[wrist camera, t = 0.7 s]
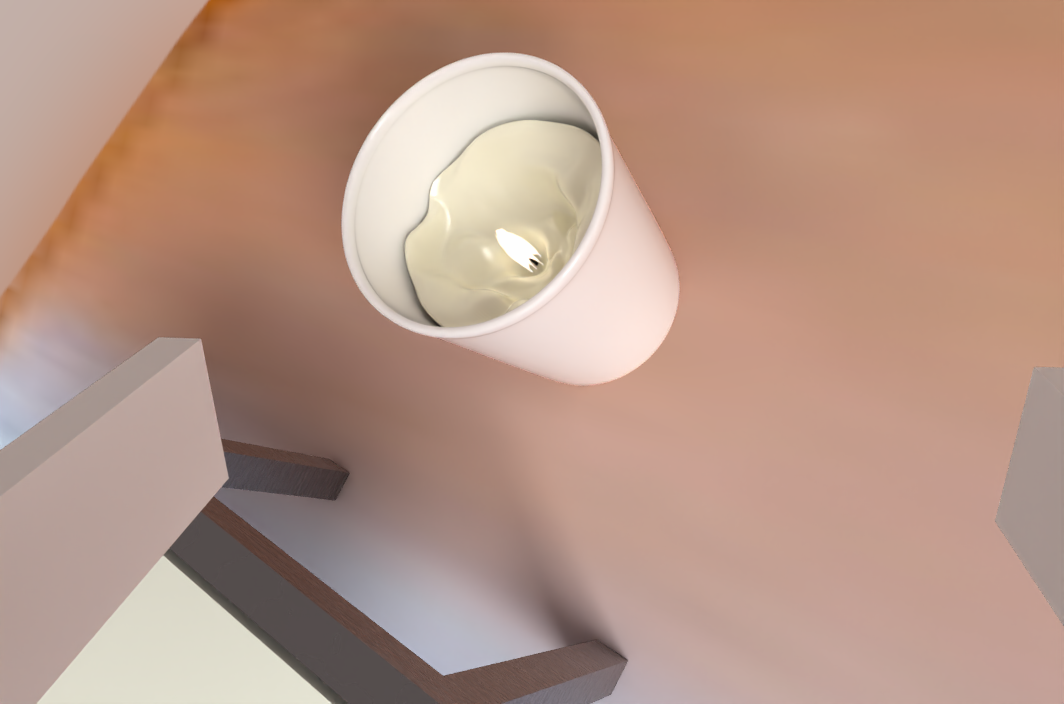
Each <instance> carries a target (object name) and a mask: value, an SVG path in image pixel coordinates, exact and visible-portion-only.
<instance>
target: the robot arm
mask: <svg viewBox="0 0 1064 704" xmlns="http://www.w3.org/2000/svg"><path fill="white" fill-rule="evenodd" d="M228 479H229V477H228V472H227V467H226V462H225V457H224V452H223V447H222V442H221V436H220V431H219V426H218V421H217V416H216V411H215V406H214V401H213V396H212V391H211V386H210V381H209V376H208V371H207V366H206V361H205V356H204V351H203V346H202V341H201V339H195V338H165V337H158V338H157V339H155V340H154V341H153V342H151V343H150V344H148V345H147V346H146V347H144V348H143V349H141V350H140V351H139V352H137V353H136V354H134V355H133V356H132V357H130V358H129V359H127V360H126V361H125V362H123V363H122V364H120V365H119V366H118V367H116V368H115V369H113V370H112V371H111V372H109V373H108V374H106V375H105V376H104V377H102V378H101V379H99V380H98V381H97V382H95V383H94V384H92V385H91V386H90V387H88V388H87V389H85V390H84V391H83V392H81V393H80V394H78V395H77V396H76V397H74V398H73V399H71V400H70V401H69V402H67V403H66V404H64V405H63V406H61V407H60V408H59V409H57V410H56V411H54V412H53V413H52V414H50V415H49V416H47V417H46V418H45V419H43V420H42V421H40V422H39V423H38V424H36V425H35V426H33V427H32V428H31V429H29V430H28V431H26V432H25V433H24V434H22V435H21V436H19V437H18V438H17V439H15V440H14V441H12V442H11V443H10V444H8V445H7V446H5V447H4V448H3V449H1V450H0V704H37V702H38V701H39V700H40V699H41V698H42V697H43V695H44V694H45V693H46V692H47V691H48V690H49V688H50V687H51V686H52V685H53V684H54V683H55V681H56V680H57V679H58V678H59V677H60V675H61V674H62V673H63V672H64V671H65V670H66V668H67V667H68V666H69V665H70V664H71V663H72V661H73V660H74V659H75V658H76V657H77V656H78V654H79V653H80V652H81V651H82V650H83V649H84V647H85V646H86V645H87V644H88V643H89V642H90V640H91V639H92V638H93V637H94V636H95V634H96V633H97V632H98V631H99V630H100V629H101V627H102V626H103V625H104V624H105V623H106V622H107V620H108V619H109V618H110V617H111V616H112V615H113V613H114V612H115V611H116V610H117V609H118V608H119V606H120V605H121V604H122V603H123V602H124V600H125V599H126V598H127V597H128V596H129V595H130V593H131V592H132V591H133V590H134V589H135V588H136V586H137V585H138V584H139V583H140V582H141V581H142V579H143V578H144V577H145V576H146V575H147V574H148V572H149V571H150V570H151V569H152V568H153V567H154V565H155V564H156V563H157V562H158V561H159V559H160V558H161V557H162V556H163V555H164V554H165V552H166V551H167V550H168V549H169V548H170V547H171V545H172V544H173V543H174V542H175V541H176V540H177V538H178V537H179V536H180V535H181V534H182V533H183V531H184V530H185V529H186V528H187V527H188V526H189V524H190V523H191V522H192V521H193V520H194V518H195V517H196V516H197V515H198V514H199V513H200V511H201V510H202V509H203V508H204V507H205V506H206V504H207V503H208V502H209V501H210V500H211V499H212V497H213V496H214V495H215V494H216V493H217V492H218V490H219V489H220V488H221V487H222V486H223V484H224V483H225V482H226V481H227V480H228ZM995 522H996V524H997V525H998V527H999V528H1000V530H1001V531H1002V533H1003V534H1004V536H1005V537H1006V539H1007V540H1008V542H1009V543H1010V545H1011V546H1012V548H1013V550H1014V551H1015V553H1016V554H1017V556H1018V557H1019V559H1020V560H1021V562H1022V563H1023V565H1024V566H1025V568H1026V569H1027V571H1028V572H1029V574H1030V576H1031V577H1032V579H1033V580H1034V582H1035V583H1036V585H1037V586H1038V588H1039V589H1040V591H1041V592H1042V594H1043V595H1044V597H1045V598H1046V600H1047V601H1048V603H1049V605H1050V606H1051V608H1052V609H1053V611H1054V612H1055V614H1056V615H1057V617H1058V618H1059V620H1060V621H1061V623H1062V624H1063V626H1064V368H1054V367H1034V369H1033V373H1032V377H1031V381H1030V385H1029V389H1028V393H1027V397H1026V400H1025V404H1024V408H1023V412H1022V416H1021V420H1020V424H1019V428H1018V432H1017V436H1016V440H1015V444H1014V448H1013V452H1012V456H1011V460H1010V464H1009V468H1008V472H1007V476H1006V480H1005V484H1004V487H1003V491H1002V495H1001V499H1000V503H999V507H998V511H997V515H996V519H995Z"/></svg>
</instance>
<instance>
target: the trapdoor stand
mask: <svg viewBox="0 0 1064 704" xmlns="http://www.w3.org/2000/svg"><path fill="white" fill-rule="evenodd" d="M221 442H222V447H223V452H224V457H225V462H226V467H227V472H228V477H229V479H228V480H227V481H226V482H225V483H224V484H223V486H222V487H226V488H235V489H243V490H252V491H260V492H269V493H277V494H286V495H294V496H303V497H311V498H320V499H328V500H336V498H337V496H338V494H339V492H340V490H341V488H342V486H343V484H344V482H345V480H346V479H347V477H348V475H349V472H347V471H346V470H344V469H343V468H341V467H340V466H338V465H337V464H335V463H334V462H332V461H331V460H329V459H326V458H321V457H315V456H310V455H305V454H300V453H294V452H289V451H284V450H278V449H273V448H268V447H262V446H257V445H252V444H246V443H241V442H236V441H230V440H225V439H221ZM170 549H171V550H172V551H173V552H174V553H175V554H177V555H178V556H179V557H180V558H181V559H182V560H184V561H185V562H186V563H187V564H188V565H189V566H191V567H192V568H193V569H194V570H195V571H196V572H197V573H199V574H200V575H201V576H202V577H203V578H204V579H206V580H207V581H208V582H209V583H210V584H211V585H212V586H214V587H215V588H216V589H217V590H218V591H219V592H221V593H222V594H223V595H224V596H225V597H226V598H228V599H229V600H230V601H231V602H232V603H233V604H234V605H236V606H237V607H238V608H239V609H240V610H241V611H243V612H244V613H245V614H246V615H247V616H248V617H249V618H251V619H252V620H253V621H254V622H255V623H256V624H258V625H259V626H260V627H261V628H262V629H263V630H264V631H266V632H267V633H268V634H269V635H270V636H271V637H273V638H274V639H275V640H276V641H277V642H278V643H280V644H281V645H282V646H283V647H284V648H285V649H286V650H288V651H289V652H290V653H291V654H292V655H293V656H295V657H296V658H297V659H298V660H299V661H300V662H301V663H303V664H304V665H305V666H306V667H307V668H308V669H310V670H311V671H312V672H313V673H314V674H315V675H316V676H318V677H319V678H320V679H321V680H322V681H323V682H325V683H326V684H327V685H328V686H329V687H330V688H332V689H333V690H334V691H335V692H336V693H337V694H338V695H340V696H341V697H342V698H343V699H344V700H345V701H347V702H348V703H349V704H590V703H593V702H595V701H597V700H600V699H602V698H604V697H606V696H609V695H611V693H612V691H613V689H614V687H615V685H616V683H617V681H618V679H619V677H620V675H621V673H622V671H623V670H624V668H625V666H626V664H627V662H628V660H626V659H625V658H623V657H622V656H620V655H619V654H617V653H616V652H614V651H613V650H611V649H610V648H608V647H607V646H605V645H604V644H602V643H601V642H599V641H598V640H593V641H589V642H585V643H580V644H576V645H572V646H568V647H563V648H559V649H555V650H551V651H546V652H542V653H538V654H534V655H530V656H525V657H521V658H517V659H513V660H508V661H504V662H500V663H496V664H491V665H487V666H483V667H479V668H475V669H470V670H466V671H462V672H458V673H453V674H449V675H445V676H443V675H441V674H440V673H439V672H437V671H436V670H435V669H434V668H432V667H431V666H430V665H428V664H427V663H426V662H425V661H423V660H422V659H421V658H419V657H418V656H417V655H416V654H414V653H413V652H412V651H411V650H409V649H408V648H407V647H405V646H404V645H403V644H402V643H400V642H399V641H398V640H396V639H395V638H394V637H393V636H391V635H390V634H389V633H388V632H386V631H385V630H384V629H382V628H381V627H380V626H379V625H377V624H376V623H375V622H373V621H372V620H371V619H370V618H368V617H367V616H366V615H364V614H363V613H362V612H361V611H359V610H358V609H357V608H356V607H354V606H353V605H352V604H350V603H349V602H348V601H347V600H345V599H344V598H343V597H341V596H340V595H339V594H338V593H336V592H335V591H334V590H332V589H331V588H330V587H329V586H327V585H326V584H325V583H324V582H322V581H321V580H320V579H318V578H317V577H316V576H315V575H313V574H312V573H311V572H309V571H308V570H307V569H306V568H304V567H303V566H302V565H300V564H299V563H298V562H297V561H295V560H294V559H293V558H292V557H290V556H289V555H288V554H286V553H285V552H284V551H283V550H281V549H280V548H279V547H277V546H276V545H275V544H274V543H272V542H271V541H270V540H268V539H267V538H266V537H265V536H263V535H262V534H261V533H260V532H258V531H257V530H256V529H254V528H253V527H252V526H251V525H249V524H248V523H247V522H245V521H244V520H243V519H242V518H240V517H239V516H238V515H236V514H235V513H234V512H233V511H231V510H230V509H229V508H228V507H226V506H225V505H224V504H222V503H221V502H220V501H219V500H217V499H216V498H215V497H212V499H211V500H210V501H209V502H208V503H207V504H206V506H205V507H204V508H203V509H202V510H201V511H200V513H199V514H198V515H197V516H196V517H195V518H194V520H193V521H192V522H191V523H190V524H189V526H188V527H187V528H186V529H185V530H184V531H183V533H182V534H181V535H180V536H179V537H178V538H177V540H176V541H175V542H174V543H173V544H172V545H171V547H170Z"/></svg>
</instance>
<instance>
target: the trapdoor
mask: <svg viewBox="0 0 1064 704" xmlns="http://www.w3.org/2000/svg"><path fill="white" fill-rule="evenodd" d="M37 704H349V703H348V702H347V701H345V700H344V699H343V698H342V697H341V696H340V695H338V694H337V693H336V692H335V691H334V690H333V689H332V688H330V687H329V686H328V685H327V684H326V683H325V682H323V681H322V680H321V679H320V678H319V677H318V676H316V675H315V674H314V673H313V672H312V671H311V670H310V669H308V668H307V667H306V666H305V665H304V664H303V663H301V662H300V661H299V660H298V659H297V658H296V657H295V656H293V655H292V654H291V653H290V652H289V651H288V650H286V649H285V648H284V647H283V646H282V645H281V644H280V643H278V642H277V641H276V640H275V639H274V638H273V637H271V636H270V635H269V634H268V633H267V632H266V631H264V630H263V629H262V628H261V627H260V626H259V625H258V624H256V623H255V622H254V621H253V620H252V619H251V618H249V617H248V616H247V615H246V614H245V613H244V612H243V611H241V610H240V609H239V608H238V607H237V606H236V605H234V604H233V603H232V602H231V601H230V600H229V599H228V598H226V597H225V596H224V595H223V594H222V593H221V592H219V591H218V590H217V589H216V588H215V587H214V586H212V585H211V584H210V583H209V582H208V581H207V580H206V579H204V578H203V577H202V576H201V575H200V574H199V573H197V572H196V571H195V570H194V569H193V568H192V567H191V566H189V565H188V564H187V563H186V562H185V561H184V560H182V559H181V558H180V557H179V556H178V555H177V554H175V553H174V552H173V551H172V550H171V549H170V548H169V549H168V550H167V551H166V552H165V554H164V555H163V556H162V557H161V558H160V559H159V561H158V562H157V563H156V564H155V565H154V567H153V568H152V569H151V570H150V571H149V572H148V574H147V575H146V576H145V577H144V578H143V579H142V581H141V582H140V583H139V584H138V585H137V586H136V588H135V589H134V590H133V591H132V592H131V593H130V595H129V596H128V597H127V598H126V599H125V600H124V602H123V603H122V604H121V605H120V606H119V608H118V609H117V610H116V611H115V612H114V613H113V615H112V616H111V617H110V618H109V619H108V620H107V622H106V623H105V624H104V625H103V626H102V627H101V629H100V630H99V631H98V632H97V633H96V634H95V636H94V637H93V638H92V639H91V640H90V642H89V643H88V644H87V645H86V646H85V647H84V649H83V650H82V651H81V652H80V653H79V654H78V656H77V657H76V658H75V659H74V660H73V661H72V663H71V664H70V665H69V666H68V667H67V668H66V670H65V671H64V672H63V673H62V674H61V675H60V677H59V678H58V679H57V680H56V681H55V683H54V684H53V685H52V686H51V687H50V688H49V690H48V691H47V692H46V693H45V694H44V695H43V697H42V698H41V699H40V700H39V701H38V702H37Z"/></svg>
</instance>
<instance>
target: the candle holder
mask: <svg viewBox="0 0 1064 704" xmlns="http://www.w3.org/2000/svg"><path fill="white" fill-rule="evenodd" d="M341 228H342V241H343V248H344V253H345V257H346V260H347V264H348V267H349V269H350V272H351V274H352V276H353V278H354V281H355V282H356V284H357V286H358V288H359V289H360V291H361V292H362V294H363V295H364V296H365V298H366V299H367V300H368V301H369V303H370V304H371V305H372V306H373V307H374V308H375V309H376V310H377V311H379V312H380V313H381V314H382V315H383V316H385V317H386V318H387V319H389V320H390V321H392V322H394V323H395V324H397V325H399V326H401V327H403V328H405V329H407V330H410V331H412V332H415V333H418V334H422V335H426V336H430V337H435V338H438V339H441V340H443V341H446V342H449V343H451V344H454V345H457V346H459V347H462V348H465V349H467V350H470V351H473V352H475V353H478V354H481V355H483V356H486V357H489V358H491V359H494V360H497V361H499V362H502V363H505V364H507V365H510V366H513V367H515V368H518V369H521V370H524V371H526V372H529V373H532V374H535V375H537V376H540V377H543V378H546V379H549V380H552V381H555V382H559V383H563V384H569V385H578V386H587V385H597V384H602V383H606V382H610V381H613V380H615V379H618V378H620V377H622V376H625V375H626V374H628V373H630V372H632V371H633V370H635V369H636V368H638V367H639V366H640V365H642V364H643V363H644V362H645V361H646V360H648V359H649V358H650V357H651V356H652V355H653V353H654V352H655V351H656V350H657V349H658V348H659V346H660V345H661V344H662V342H663V341H664V339H665V337H666V336H667V334H668V332H669V330H670V328H671V326H672V324H673V321H674V318H675V315H676V312H677V308H678V302H679V293H680V282H679V273H678V268H677V264H676V261H675V258H674V255H673V252H672V250H671V248H670V246H669V243H668V241H667V239H666V237H665V235H664V233H663V232H662V230H661V228H660V226H659V224H658V222H657V220H656V218H655V216H654V215H653V213H652V211H651V209H650V207H649V205H648V203H647V201H646V200H645V198H644V196H643V194H642V192H641V190H640V188H639V187H638V185H637V183H636V181H635V179H634V177H633V176H632V174H631V172H630V170H629V168H628V166H627V164H626V163H625V161H624V159H623V157H622V155H621V153H620V151H619V150H618V148H617V146H616V144H615V142H614V140H613V138H612V137H611V135H610V133H609V131H608V127H607V125H606V122H605V119H604V117H603V115H602V113H601V111H600V109H599V107H598V105H597V104H596V102H595V100H594V99H593V98H592V96H591V95H590V93H589V92H588V91H587V90H586V89H585V87H584V86H583V85H582V84H581V83H580V82H579V81H578V80H577V79H576V78H574V77H573V76H572V75H571V74H569V73H568V72H567V71H565V70H564V69H562V68H561V67H559V66H557V65H555V64H553V63H551V62H549V61H547V60H544V59H541V58H538V57H535V56H531V55H526V54H520V53H510V52H499V53H487V54H481V55H476V56H472V57H468V58H465V59H462V60H459V61H456V62H453V63H451V64H448V65H446V66H444V67H442V68H440V69H438V70H436V71H434V72H433V73H431V74H429V75H427V76H426V77H424V78H423V79H421V80H420V81H418V82H417V83H416V84H414V85H413V86H412V87H410V88H409V89H408V90H407V91H406V92H404V93H403V94H402V95H401V96H400V97H399V98H398V99H397V100H396V101H395V102H394V103H393V104H392V105H391V106H390V107H389V108H388V109H387V110H386V111H385V113H384V114H383V115H382V116H381V117H380V119H379V120H378V121H377V123H376V124H375V125H374V127H373V128H372V130H371V131H370V133H369V134H368V136H367V138H366V139H365V141H364V143H363V145H362V146H361V148H360V150H359V152H358V154H357V157H356V159H355V161H354V164H353V166H352V169H351V172H350V175H349V178H348V181H347V185H346V189H345V194H344V199H343V206H342V220H341Z"/></svg>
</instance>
